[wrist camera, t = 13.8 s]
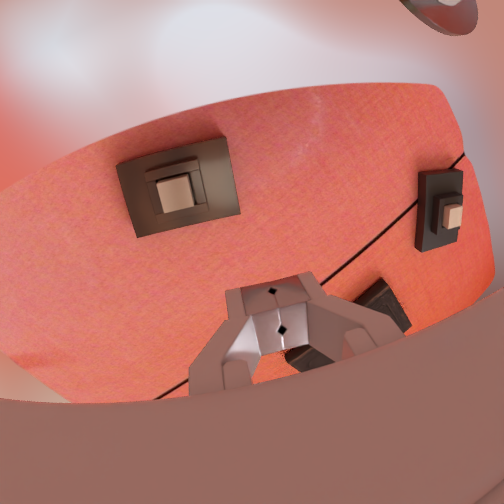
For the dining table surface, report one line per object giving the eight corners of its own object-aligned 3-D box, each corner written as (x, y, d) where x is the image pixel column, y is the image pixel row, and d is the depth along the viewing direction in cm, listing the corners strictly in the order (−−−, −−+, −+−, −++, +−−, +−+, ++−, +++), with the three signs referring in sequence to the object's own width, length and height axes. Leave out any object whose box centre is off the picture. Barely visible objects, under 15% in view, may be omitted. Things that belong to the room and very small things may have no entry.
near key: (166, 209, 33) (164, 213, 32) (158, 180, 32) (156, 183, 30) (194, 202, 34) (194, 206, 32) (187, 173, 32) (187, 176, 30)
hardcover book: (406, 319, 54) (412, 325, 52) (324, 382, 58) (328, 390, 56) (380, 276, 48) (387, 283, 46) (283, 354, 52) (286, 362, 50)
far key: (443, 205, 39) (450, 209, 38) (456, 203, 40) (463, 206, 38) (441, 225, 41) (448, 229, 39) (454, 222, 41) (460, 225, 40)
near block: (140, 232, 38) (134, 243, 34) (120, 162, 33) (111, 167, 30) (238, 209, 39) (242, 218, 35) (224, 136, 34) (227, 137, 30)
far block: (418, 172, 40) (433, 177, 36) (455, 168, 41) (470, 173, 37) (414, 247, 46) (427, 257, 43) (449, 237, 47) (462, 245, 43)
